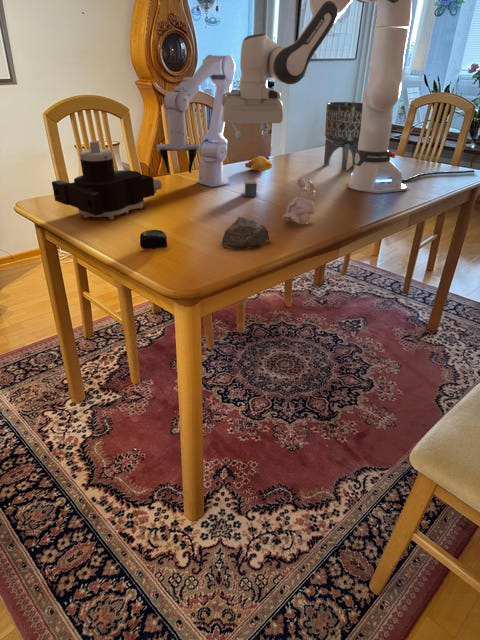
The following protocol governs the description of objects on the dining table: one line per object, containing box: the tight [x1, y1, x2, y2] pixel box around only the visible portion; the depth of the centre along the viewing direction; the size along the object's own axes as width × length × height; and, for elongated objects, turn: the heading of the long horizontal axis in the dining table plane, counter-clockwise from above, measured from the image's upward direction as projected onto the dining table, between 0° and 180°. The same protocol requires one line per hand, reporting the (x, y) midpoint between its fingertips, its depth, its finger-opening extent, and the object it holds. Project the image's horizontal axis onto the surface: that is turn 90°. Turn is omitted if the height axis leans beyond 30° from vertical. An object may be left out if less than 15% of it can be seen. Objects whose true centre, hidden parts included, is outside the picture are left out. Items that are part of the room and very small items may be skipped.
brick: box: [243, 180, 258, 198], centre depth 164 cm, size 4×4×5 cm
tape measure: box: [139, 229, 168, 250], centre depth 117 cm, size 7×7×4 cm
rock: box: [221, 216, 270, 250], centre depth 119 cm, size 13×9×6 cm, turn 131°
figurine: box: [281, 177, 316, 225], centre depth 135 cm, size 8×15×13 cm, turn 145°
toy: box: [244, 155, 273, 172], centre depth 200 cm, size 11×6×15 cm
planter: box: [323, 101, 363, 172], centre depth 204 cm, size 20×20×26 cm
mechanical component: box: [51, 141, 163, 220], centre depth 140 cm, size 22×21×30 cm
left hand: (179, 172), depth 161 cm, fingers open, 7 cm apart
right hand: (252, 137), depth 155 cm, fingers open, 8 cm apart
